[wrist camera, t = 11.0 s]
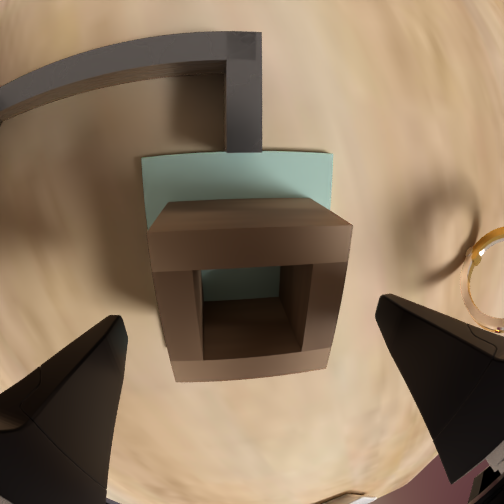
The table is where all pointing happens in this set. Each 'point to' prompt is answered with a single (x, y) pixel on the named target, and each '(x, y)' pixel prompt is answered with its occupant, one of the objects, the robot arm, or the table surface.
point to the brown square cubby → (248, 310)
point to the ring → (471, 260)
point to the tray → (352, 499)
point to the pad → (236, 187)
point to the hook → (158, 76)
